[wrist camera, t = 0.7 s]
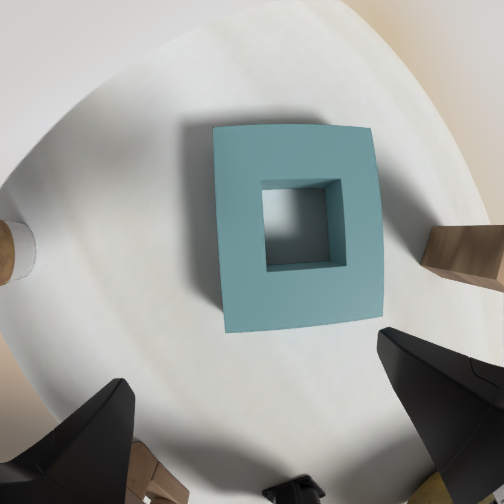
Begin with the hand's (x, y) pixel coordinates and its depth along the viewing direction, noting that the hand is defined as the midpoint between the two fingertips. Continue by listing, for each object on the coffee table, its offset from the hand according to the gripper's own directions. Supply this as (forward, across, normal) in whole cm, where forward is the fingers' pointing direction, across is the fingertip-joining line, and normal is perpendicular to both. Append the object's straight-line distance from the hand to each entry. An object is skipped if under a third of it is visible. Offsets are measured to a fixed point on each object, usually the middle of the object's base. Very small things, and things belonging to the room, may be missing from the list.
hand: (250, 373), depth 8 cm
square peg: (+13, -19, +4) cm, 23 cm away
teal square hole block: (+14, -5, -1) cm, 15 cm away
